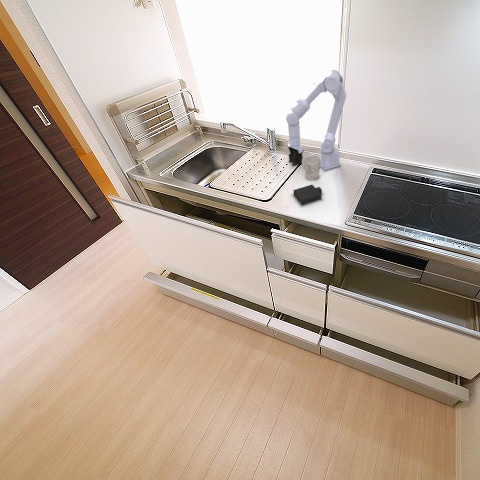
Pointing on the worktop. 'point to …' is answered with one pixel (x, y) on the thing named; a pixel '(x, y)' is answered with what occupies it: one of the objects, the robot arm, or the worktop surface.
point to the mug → (311, 166)
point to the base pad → (308, 194)
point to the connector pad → (292, 158)
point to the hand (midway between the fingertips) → (295, 159)
